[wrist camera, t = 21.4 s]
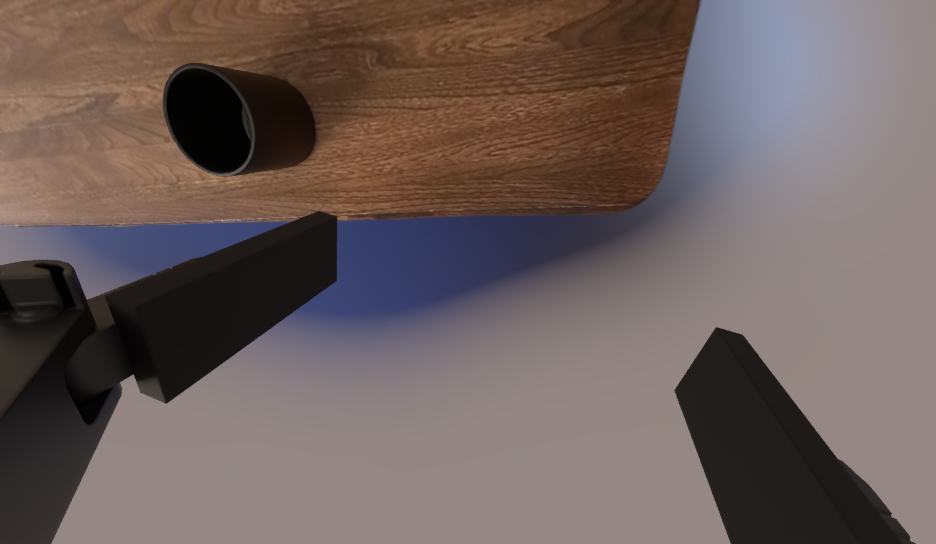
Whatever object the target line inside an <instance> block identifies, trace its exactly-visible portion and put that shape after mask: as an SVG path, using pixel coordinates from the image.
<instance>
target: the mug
mask: <svg viewBox="0 0 936 544" xmlns="http://www.w3.org/2000/svg"><path fill="white" fill-rule="evenodd" d="M163 110H164V116H165V120H166V123H167V126H168V129H169V131H170V134H171V136H172V138H173V139H174V141H175V143H176V144H177V146H178V148H179V149H180V150H181V151H182V153H183V154H184V155H185V156H186V157H187V158H188V159H189V160H190V161H191V162H192V163H193V164H194V165H196V166H197V167H199V168H200V169H202V170H203V171H205V172H208V173H210V174H213V175H217V176H223V177H227V176H236V175H242V174H249V173H255V172H262V171H268V170H274V169H281V168H287V167H292V166H295V165H297V164H299V163H301V162H302V161H303V160H304V159H305V158H306V157H307V155H308V154H309V152H310V150H311V148H312V145H313V141H314V123H313V119H312V115H311V113H310V110H309V108H308V106H307V104H306V102H305V101H304V99H303V98H302V96H301V95H300V94H299V93H298V92H297V91H296V90H295V89H294V88H293V87H292V86H291V85H289V84H288V83H287V82H285V81H283V80H281V79H279V78H275V77H272V76H266V75H261V74H256V73H250V72H245V71H240V70H234V69H229V68H224V67H218V66H213V65H207V64H202V63H190V64H185V65H183V66H181V67H179V68H177V69H176V70H175V71H173V73H172V74H171V75H170V77H169V78H168V80H167V82H166V85H165V88H164V94H163Z"/></svg>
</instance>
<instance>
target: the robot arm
mask: <svg viewBox="0 0 936 544" xmlns="http://www.w3.org/2000/svg"><path fill="white" fill-rule="evenodd" d="M336 281H337V216H334V215H330V214H327V213H323V212H320V211H318V212H315V213H313V214H310V215H308V216H305V217H303V218H300V219H298V220H295V221H292V222H290V223H287V224H285V225H282V226H280V227H277V228H275V229H273V230H270V231H267V232H265V233H262V234H260V235H257V236H255V237H252V238H250V239H247V240H244V241H242V242H239V243H237V244H234V245H232V246H229V247H227V248H224V249H222V250H219V251H217V252H214V253H212V254H209V255H206V256H204V257H200V258H195V259H191V260H188V261H186V262H183V263H181V264H178V265H176V266H173V268H172V269H170V268H168V269H165V270H163V271H160V272H158V273H156V275H150V276H148V277H145V278H142V279H140V280H137V281H135V282H132V283H129V284H127V285H124V286H122V287H119V288H117V289H114V290H111V291H109V292H106V293H104V294H102V295H99V296H96V297H94V298H91V299H88V300H86V297H85V295H84V292H83V290H82V287H81V285H80V282H79V280H78V277H77V275H76V272H75V270H74V268H73V267H72V266H71V265H70V264H69V263H66V262H62V261H58V260H33V261H21V262H15V263H11V264H5V265H0V544H51V543H52V541H53V539H54V537H55V534H56V532H57V530H58V528H59V526H60V524H61V522H62V520H63V517H64V515H65V513H66V511H67V509H68V507H69V505H70V502H71V501H72V498H73V496H74V494H75V492H76V490H77V487H78V485H79V484H80V482H81V479H82V477H83V475H84V473H85V471H86V469H87V467H88V464H89V462H90V460H91V458H92V456H93V454H94V452H95V450H96V448H97V446H98V444H99V441H100V439H101V437H102V435H103V433H104V431H105V429H106V427H107V424H108V422H109V420H110V418H111V416H112V414H113V412H114V410H115V408H116V405H117V403H118V401H119V399H120V397H121V393H122V387H121V384H120V382H121V381H123V380H124V379H126V378H128V377H130V376H131V375H133V374H134V376H135V379H136V382H137V384H138V387H139V390H140V393H143V394H145V395H147V396H150V397H152V398H155V399H157V400H159V401H162V402H164V403H168V402H169V401H171V400H172V399H174V398H175V397H176V396H178V395H179V394H180V393H182V392H183V391H184V390H186V389H187V388H189V387H190V386H192V385H193V384H194V383H196V382H197V381H199V380H200V379H201V378H203V377H204V376H205V375H207V374H208V373H210V372H211V371H212V370H214V369H215V368H217V367H218V366H219V365H220V364H222V363H223V362H225V361H226V360H228V359H229V358H230V357H232V356H233V355H235V354H236V353H237V352H239V351H240V350H241V349H243V348H244V347H246V346H247V345H248V344H250V343H251V342H252V341H254V340H255V339H257V338H258V337H259V336H261V335H262V334H264V333H265V332H266V331H268V330H269V329H271V328H272V327H273V326H275V325H276V324H277V323H279V322H280V321H282V320H283V319H284V318H286V317H287V316H289V315H290V314H291V313H293V312H294V311H295V310H296V309H298V308H300V307H301V306H302V305H304V304H305V303H306V302H308V301H309V300H311V299H312V298H313V297H315V296H316V295H318V294H319V293H320V292H322V291H323V290H325V289H326V288H327V287H329V286H330V285H331V284H333V283H334V282H336ZM675 393H676V396H677V399H678V401H679V404H680V407H681V410H682V412H683V415H684V418H685V420H686V423H687V426H688V429H689V431H690V434H691V437H692V439H693V442H694V445H695V448H696V450H697V453H698V456H699V458H700V461H701V464H702V467H703V469H704V472H705V475H706V477H707V480H708V483H709V485H710V488H711V491H712V494H713V497H714V499H715V501H716V504H717V507H718V510H719V513H720V516H721V518H722V521H723V524H724V526H725V529H726V532H727V535H728V537H729V540H730V543H731V544H915V543H913V542H911V541H910V536H909V535H908V533H907V532H906V531H905V529H904V528H903V527H902V526H901V525H900V523H899V522H898V521H897V519H894V518H892V517H891V514H892V513H891V512H890V511H889V509H888V508H887V507H886V506H885V504H884V503H883V502H882V501H881V499H880V498H879V497H878V496H877V494H876V493H875V492H874V491H873V490H872V488H871V487H870V486H869V485H868V484H867V483H866V482H865V481H864V480H862V479H861V478H860V477H859V476H858V475H857V474H856V473H855V472H854V471H853V470H852V469H851V468H850V467H848V466H847V465H846V464H845V463H844V462H843V461H841V460H838V459H837V457H836V456H835V455H834V454H833V452H832V451H831V450H830V448H829V447H828V446H827V445H826V443H825V442H824V441H823V439H822V438H821V437H820V435H819V434H818V433H817V432H816V430H815V429H814V427H813V426H812V425H811V423H810V422H809V421H808V420H807V418H806V417H805V416H804V414H803V413H802V412H801V410H800V409H799V408H798V406H797V405H796V404H795V403H794V401H793V400H792V399H791V397H790V396H789V395H788V394H787V392H786V391H785V389H784V388H783V387H782V386H781V384H780V383H779V382H778V380H777V379H776V378H775V376H774V375H773V374H772V373H771V371H770V370H769V369H768V367H767V366H766V365H765V363H764V362H763V361H762V360H761V358H760V357H759V355H758V354H757V353H756V352H755V350H754V349H753V348H752V346H751V345H750V344H749V343H748V341H747V340H746V339H745V337H744V336H743V335H741V334H738V333H734V332H731V331H727V330H724V329H721V328H717V327H716V328H715V330H714V331H713V333H712V334H711V336H710V337H709V339H708V340H707V342H706V343H705V345H704V346H703V348H702V349H701V351H700V352H699V354H698V356H697V357H696V358H695V360H694V361H693V363H692V365H691V366H690V368H689V369H688V371H687V372H686V374H685V375H684V377H683V378H682V380H681V381H680V383H679V384H678V386H677V387H676V389H675Z"/></svg>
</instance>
